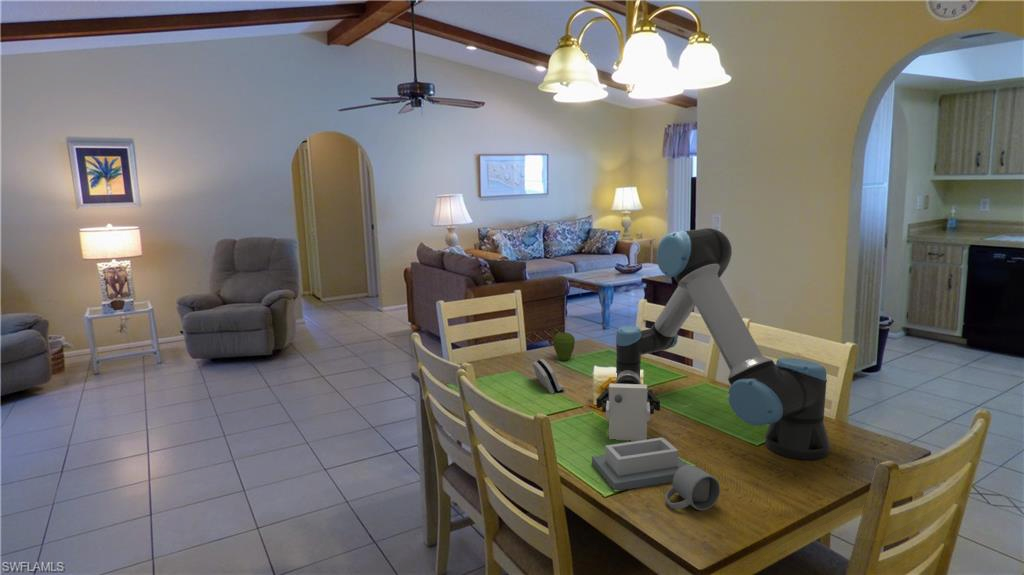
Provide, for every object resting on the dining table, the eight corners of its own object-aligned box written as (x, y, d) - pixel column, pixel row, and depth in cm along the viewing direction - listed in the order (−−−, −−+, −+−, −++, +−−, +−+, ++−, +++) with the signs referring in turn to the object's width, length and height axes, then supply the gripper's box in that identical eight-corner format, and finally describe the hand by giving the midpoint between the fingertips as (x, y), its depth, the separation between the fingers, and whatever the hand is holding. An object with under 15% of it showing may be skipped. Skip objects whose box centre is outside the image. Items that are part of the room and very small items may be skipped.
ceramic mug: (696, 488, 137) (697, 457, 136) (720, 506, 130) (721, 473, 128) (657, 499, 134) (656, 467, 132) (679, 518, 126) (679, 484, 125)
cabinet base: (664, 453, 155) (665, 431, 154) (693, 478, 142) (694, 454, 141) (591, 464, 150) (591, 441, 149) (614, 491, 137) (614, 467, 136)
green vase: (579, 360, 235) (579, 331, 233) (562, 364, 230) (561, 335, 228) (566, 355, 242) (565, 327, 240) (549, 359, 238) (548, 331, 236)
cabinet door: (646, 436, 165) (646, 384, 162) (646, 443, 161) (647, 390, 158) (609, 434, 167) (609, 383, 164) (608, 441, 163) (608, 388, 160)
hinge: (565, 392, 201) (555, 366, 198) (553, 398, 200) (542, 372, 198) (550, 376, 217) (541, 352, 214) (538, 382, 216) (529, 358, 214)
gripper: (666, 400, 179) (671, 430, 157) (590, 397, 183) (585, 426, 162) (667, 375, 178) (672, 403, 156) (590, 373, 182) (584, 400, 161)
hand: (627, 415), depth 159 cm, fingers closed on cabinet door, 10 cm apart
